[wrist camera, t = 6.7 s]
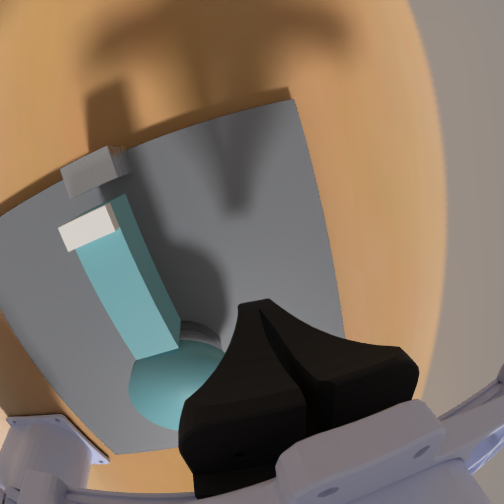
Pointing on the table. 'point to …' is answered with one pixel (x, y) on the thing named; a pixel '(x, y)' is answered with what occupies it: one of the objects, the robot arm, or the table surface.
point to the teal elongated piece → (140, 311)
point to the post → (198, 333)
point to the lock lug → (96, 170)
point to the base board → (173, 257)
